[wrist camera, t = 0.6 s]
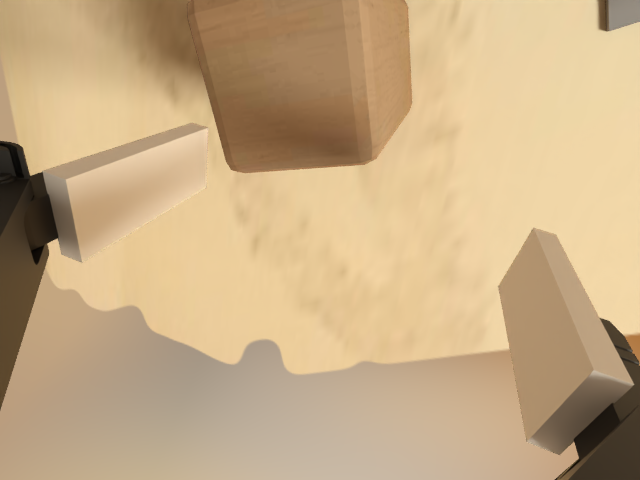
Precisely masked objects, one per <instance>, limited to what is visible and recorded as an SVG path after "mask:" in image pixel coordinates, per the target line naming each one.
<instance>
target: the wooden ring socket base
mask: <svg viewBox="0 0 640 480" xmlns="http://www.w3.org/2000/svg"><path fill="white" fill-rule="evenodd" d="M637 22H640V0H606V29H607V31H611V30H615V29H618V28H621V27H624V26H627V25H630V24H634V23H637Z"/></svg>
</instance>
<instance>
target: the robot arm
mask: <svg viewBox="0 0 640 480" xmlns="http://www.w3.org/2000/svg"><path fill="white" fill-rule="evenodd" d="M207 151H208V127H204V126H201V125H198V124H195V123H190V124H187V125H183V126H180V127H177V128H174V129H171V130H168V131H165V132H162V133H159V134H156V135H152V136H149V137H146V138H143V139H140V140H137V141H134V142H131V143H128V144H125V145H122V146H118V147H115V148H112V149H109V150H106V151H103V152H100V153H97V154H94V155H91V156H87V157H84V158H81V159H78V160H75V161H72V162H69V163H66V164H63V165H60V166H56V167H53V168H50V169H47V170H44V171H42V172H41V173H38V174H35V175H32V176H30V174H29V170H28V166H27V162H26V158H25V155H24V151H23V147H21V146H20V145H18V144H15V143H11V142H4V141H0V409H1V406H2V403H3V400H4V396H5V393H6V390H7V387H8V384H9V381H10V377H11V374H12V371H13V368H14V365H15V361H16V358H17V355H18V352H19V349H20V346H21V342H22V339H23V336H24V332H25V330H26V326H27V323H28V320H29V317H30V313H31V310H32V307H33V304H34V301H35V298H36V294H37V291H38V288H39V285H40V282H41V279H42V275H43V272H44V269H45V266H46V263H47V259H48V256H49V249H48V245H47V243H49V242H51V241H53V240H55V239H57V238H58V241H59V245H60V250H61V254H62V255H64V256H67V257H69V258H72V259H74V260H77V261H79V262H82V263H83V262H84V261H86V260H88V259H89V258H91V257H93V256H94V255H96V254H98V253H99V252H101V251H103V250H104V249H106V248H107V247H109V246H111V245H112V244H114V243H116V242H117V241H119V240H121V239H122V238H124V237H126V236H127V235H129V234H131V233H132V232H134V231H136V230H137V229H139V228H141V227H142V226H144V225H145V224H147V223H149V222H150V221H152V220H154V219H155V218H157V217H159V216H160V215H162V214H164V213H165V212H167V211H169V210H170V209H172V208H174V207H175V206H177V205H179V204H180V203H182V202H184V201H185V200H187V199H188V198H190V197H192V196H193V195H195V194H197V193H198V192H200V191H202V190H203V189H205V188H206V186H207ZM498 287H499V293H500V298H501V304H502V309H503V315H504V320H505V326H506V331H507V337H508V342H509V348H510V353H511V359H512V364H513V370H514V375H515V381H516V386H517V392H518V397H519V402H520V408H521V414H522V419H523V424H524V430H525V435H526V441H527V442H528V443H531V444H533V445H536V446H538V447H541V448H543V449H546V450H548V451H551V452H553V453H556V454H558V455H560V454H561V453H562V452H563V451H564V450H565V449H566V448H567V447H568V446H570V445H571V444H572V443H573V442H575V445H576V449H577V452H578V456H579V459H578V460H577V461H576V462H574V463H573V464H572V465H571V466H570V467H569V468H568V469H566V470H565V471H564V472H563V473H562V474H561V475H559V477H557V478H556V479H555V480H640V366H639V361H638V360H637V358H636V356H635V354H633V353H632V349H631V347H630V346H629V344H628V342H627V340H626V339H625V337H624V336H623V335H622V334H621V333H620V332H619V331H618V330H617V328H616V327H615V326H614V325H613V324H612V323H611V322H610V321H607V320H604V319H601V318H599V316H598V314H597V312H596V310H595V308H594V307H593V305H592V303H591V301H590V299H589V297H588V295H587V293H586V291H585V289H584V287H583V286H582V284H581V282H580V280H579V278H578V276H577V274H576V272H575V270H574V268H573V266H572V265H571V263H570V261H569V259H568V257H567V255H566V253H565V251H564V249H563V247H562V245H561V244H560V242H559V240H558V238H557V236H556V235H555V234H552V233H549V232H545V231H542V230H539V229H536V228H533V230H532V231H531V233H530V235H529V236H528V238H527V240H526V241H525V243H524V245H523V246H522V248H521V250H520V251H519V253H518V255H517V256H516V258H515V260H514V261H513V263H512V265H511V266H510V268H509V270H508V271H507V273H506V275H505V276H504V278H503V280H502V281H501V283H500V285H499V286H498Z"/></svg>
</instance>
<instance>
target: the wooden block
mask: <svg viewBox="0 0 640 480" xmlns="http://www.w3.org/2000/svg"><path fill="white" fill-rule="evenodd" d="M187 17H188V21H189V25H190V29H191V32H192V36H193V40H194V44H195V47H196V51H197V55H198V58H199V62H200V66H201V70H202V73H203V77H204V81H205V85H206V88H207V92H208V96H209V99H210V103H211V107H212V111H213V114H214V118H215V122H216V126H217V129H218V133H219V137H220V140H221V144H222V148H223V152H224V155H225V159H226V162H227V164H228V165H229V167H230V169H231V170H234V171H237V172H242V173H253V172H267V171H281V170H295V169H310V168H324V167H338V166H352V165H365V164H367V163H369V162H370V161H372V160H374V159H376V158H377V157H378V155H379V154H380V152H381V151H382V149H383V148H384V146H385V145H386V144H387V142H388V141H389V139H390V138H391V136H392V135H393V134H394V132H395V131H396V129H397V128H398V126H399V125H400V124H401V122H402V121H403V119H404V118H405V116H406V115H407V113H408V112H409V110H410V108H411V105H412V89H411V67H410V44H409V22H408V6H407V4H406V2H405V0H191V1H190V2H189V3H188V4H187Z"/></svg>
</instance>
